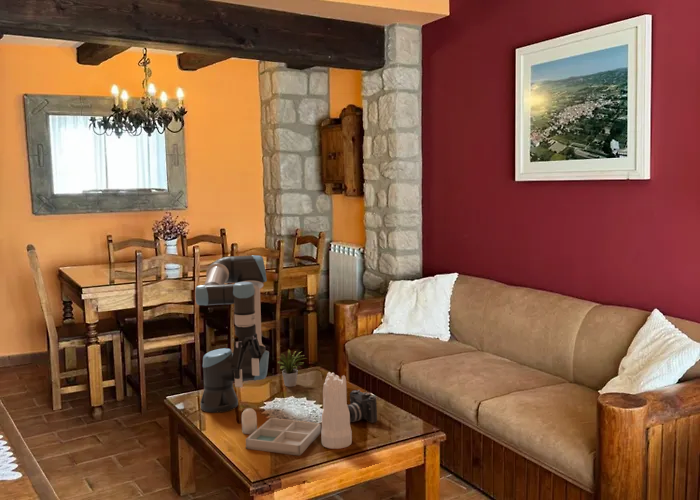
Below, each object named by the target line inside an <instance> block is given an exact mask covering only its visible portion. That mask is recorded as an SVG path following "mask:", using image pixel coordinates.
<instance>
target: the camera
mask: <svg viewBox="0 0 700 500" xmlns="http://www.w3.org/2000/svg"><path fill="white" fill-rule="evenodd" d="M349 402H350V404H347V406H348V409H349V412H350V423H354V422H359V421H361V420H365V421H366V422H369V423H371V424H374V423H376V422H377V421H378V409H377V407H378V406H377V398H376V396H374V395H371V393H370V392H369V393H368V392H367V391H366V392H362V391H361V389H357V390H356V389H355V390H354V389H352V390H351V391H350V392H349Z"/></svg>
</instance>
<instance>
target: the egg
mask: <svg viewBox="0 0 700 500" xmlns="http://www.w3.org/2000/svg"><path fill="white" fill-rule="evenodd" d="M257 429H258V417H257V412H256V410H254V409H253V408H250V407H249V408H245V409H243V412H241V433H242V434H244V435H251V434H252V433H253V432H255V431H256V430H257Z"/></svg>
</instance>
